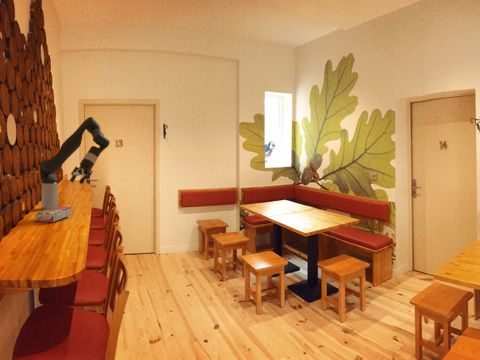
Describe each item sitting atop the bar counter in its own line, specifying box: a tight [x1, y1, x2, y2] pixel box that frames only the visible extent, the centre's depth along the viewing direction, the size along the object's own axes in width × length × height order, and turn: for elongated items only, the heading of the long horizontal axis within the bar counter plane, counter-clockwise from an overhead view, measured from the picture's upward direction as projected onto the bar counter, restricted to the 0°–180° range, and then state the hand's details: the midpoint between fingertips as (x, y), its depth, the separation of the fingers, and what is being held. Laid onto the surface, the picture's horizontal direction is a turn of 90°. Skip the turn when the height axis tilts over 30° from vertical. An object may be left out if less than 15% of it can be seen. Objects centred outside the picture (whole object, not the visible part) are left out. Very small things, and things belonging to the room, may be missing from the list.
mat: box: [34, 216, 69, 224], centre depth 197 cm, size 11×13×1 cm
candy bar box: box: [35, 206, 73, 223], centre depth 197 cm, size 11×5×16 cm
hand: (75, 182), depth 214 cm, fingers open, 8 cm apart
